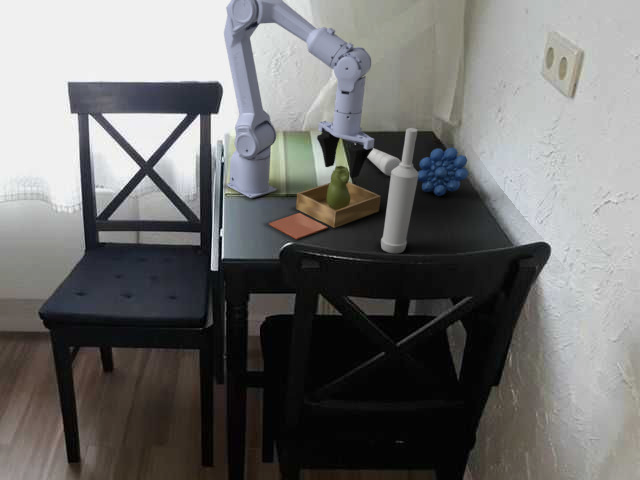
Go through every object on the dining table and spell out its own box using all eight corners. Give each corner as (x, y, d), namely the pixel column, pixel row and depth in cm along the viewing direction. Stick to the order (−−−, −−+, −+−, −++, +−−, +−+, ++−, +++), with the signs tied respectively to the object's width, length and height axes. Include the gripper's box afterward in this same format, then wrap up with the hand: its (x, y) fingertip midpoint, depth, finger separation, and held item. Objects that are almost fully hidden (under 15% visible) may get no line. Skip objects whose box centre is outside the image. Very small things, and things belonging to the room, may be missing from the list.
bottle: (377, 242, 157) (394, 125, 143) (401, 241, 157) (420, 125, 143) (384, 254, 152) (402, 134, 139) (408, 253, 153) (429, 134, 139)
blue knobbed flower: (467, 194, 178) (477, 145, 172) (459, 204, 173) (469, 154, 167) (419, 184, 183) (427, 136, 176) (410, 193, 178) (418, 145, 172)
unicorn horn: (367, 143, 207) (369, 126, 204) (400, 176, 187) (403, 158, 184) (350, 144, 206) (352, 127, 203) (382, 177, 186) (385, 159, 184)
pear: (324, 203, 172) (328, 162, 167) (347, 203, 172) (352, 162, 167) (326, 213, 168) (331, 171, 162) (350, 214, 168) (355, 172, 162)
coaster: (268, 224, 164) (268, 223, 163) (299, 214, 168) (299, 212, 168) (296, 239, 158) (296, 238, 157) (327, 228, 162) (327, 226, 162)
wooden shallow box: (295, 208, 171) (297, 193, 168) (339, 193, 178) (341, 178, 176) (334, 227, 162) (335, 211, 160) (378, 211, 170) (381, 195, 168)
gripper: (387, 115, 155) (378, 177, 162) (337, 98, 164) (331, 157, 172) (363, 121, 151) (356, 184, 159) (313, 104, 161) (308, 164, 168)
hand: (341, 171), depth 165 cm, fingers open, 7 cm apart
